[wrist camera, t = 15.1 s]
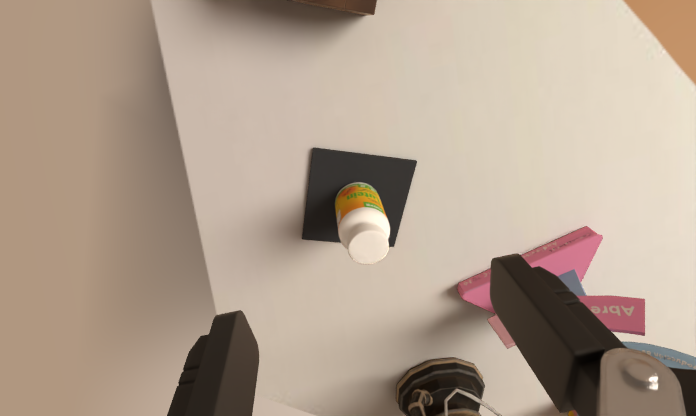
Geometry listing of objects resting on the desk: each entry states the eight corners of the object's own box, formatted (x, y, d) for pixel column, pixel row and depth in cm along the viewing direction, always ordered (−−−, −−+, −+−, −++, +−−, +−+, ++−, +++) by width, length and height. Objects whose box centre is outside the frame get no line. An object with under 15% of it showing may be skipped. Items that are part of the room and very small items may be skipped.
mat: (302, 237, 44) (302, 239, 43) (313, 147, 38) (313, 148, 38) (393, 245, 45) (393, 247, 45) (416, 160, 40) (417, 161, 40)
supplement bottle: (380, 180, 40) (399, 223, 32) (377, 220, 43) (393, 269, 34) (335, 181, 40) (341, 224, 31) (334, 221, 42) (339, 271, 34)
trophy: (591, 223, 47) (947, 481, 21) (605, 300, 55) (877, 559, 28) (454, 284, 50) (614, 577, 24) (486, 349, 58) (633, 624, 31)
